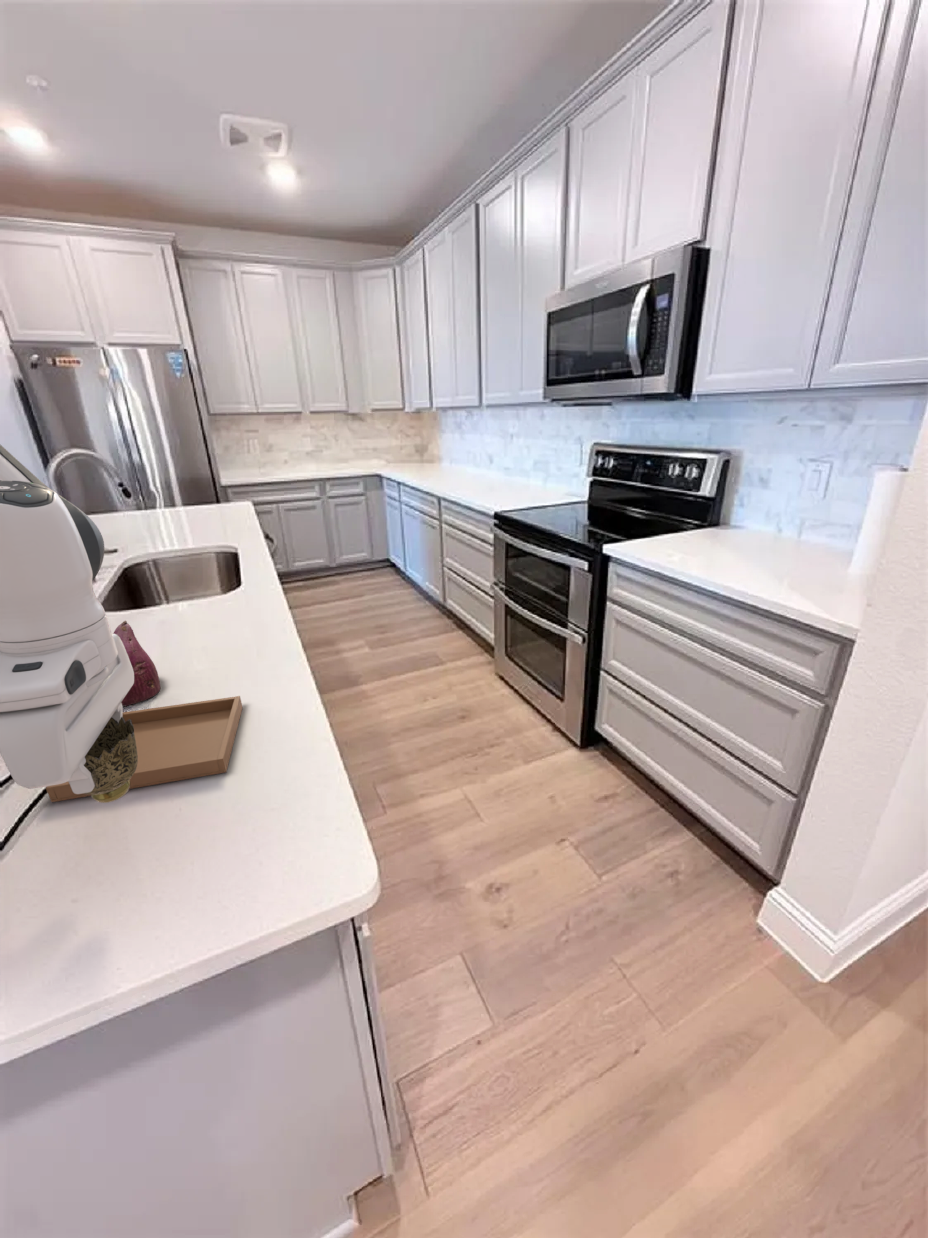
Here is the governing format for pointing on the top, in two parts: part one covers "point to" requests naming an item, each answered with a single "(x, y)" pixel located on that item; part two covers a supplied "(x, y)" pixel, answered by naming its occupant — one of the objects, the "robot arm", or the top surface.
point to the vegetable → (138, 667)
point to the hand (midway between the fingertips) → (102, 763)
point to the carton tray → (177, 743)
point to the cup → (113, 760)
